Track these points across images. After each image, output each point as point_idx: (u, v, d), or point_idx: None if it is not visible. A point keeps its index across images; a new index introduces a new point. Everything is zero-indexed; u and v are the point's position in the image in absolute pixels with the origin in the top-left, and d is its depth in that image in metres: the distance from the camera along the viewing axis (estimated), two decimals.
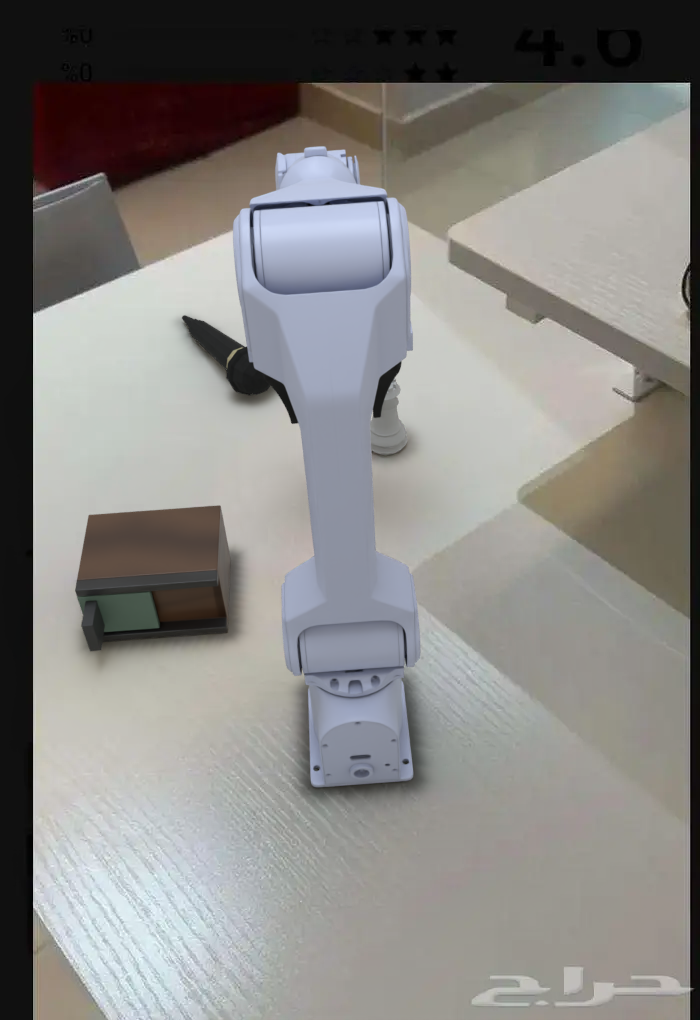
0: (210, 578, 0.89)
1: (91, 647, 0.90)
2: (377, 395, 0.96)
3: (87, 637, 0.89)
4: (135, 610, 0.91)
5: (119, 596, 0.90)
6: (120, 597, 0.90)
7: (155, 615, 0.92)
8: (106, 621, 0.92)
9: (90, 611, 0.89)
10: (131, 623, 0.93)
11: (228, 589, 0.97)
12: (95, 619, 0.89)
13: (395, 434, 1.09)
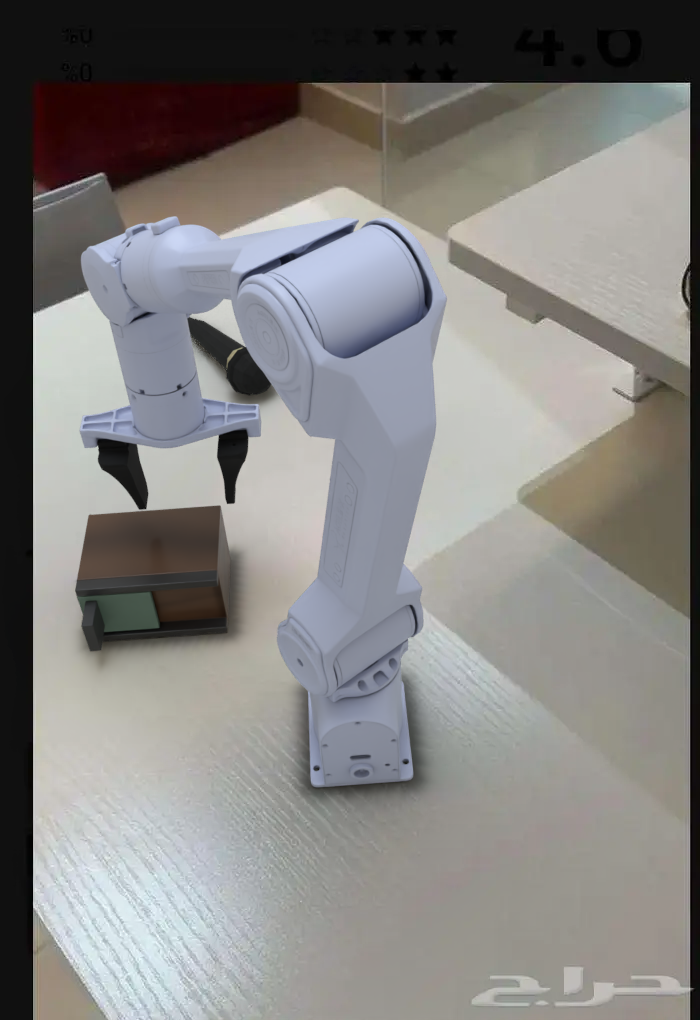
0: (210, 578, 0.89)
1: (91, 647, 0.90)
2: (226, 482, 0.89)
3: (87, 637, 0.89)
4: (135, 610, 0.91)
5: (119, 596, 0.90)
6: (120, 597, 0.90)
7: (155, 615, 0.92)
8: (106, 621, 0.92)
9: (90, 611, 0.89)
10: (131, 623, 0.93)
11: (228, 589, 0.97)
12: (95, 619, 0.89)
13: None
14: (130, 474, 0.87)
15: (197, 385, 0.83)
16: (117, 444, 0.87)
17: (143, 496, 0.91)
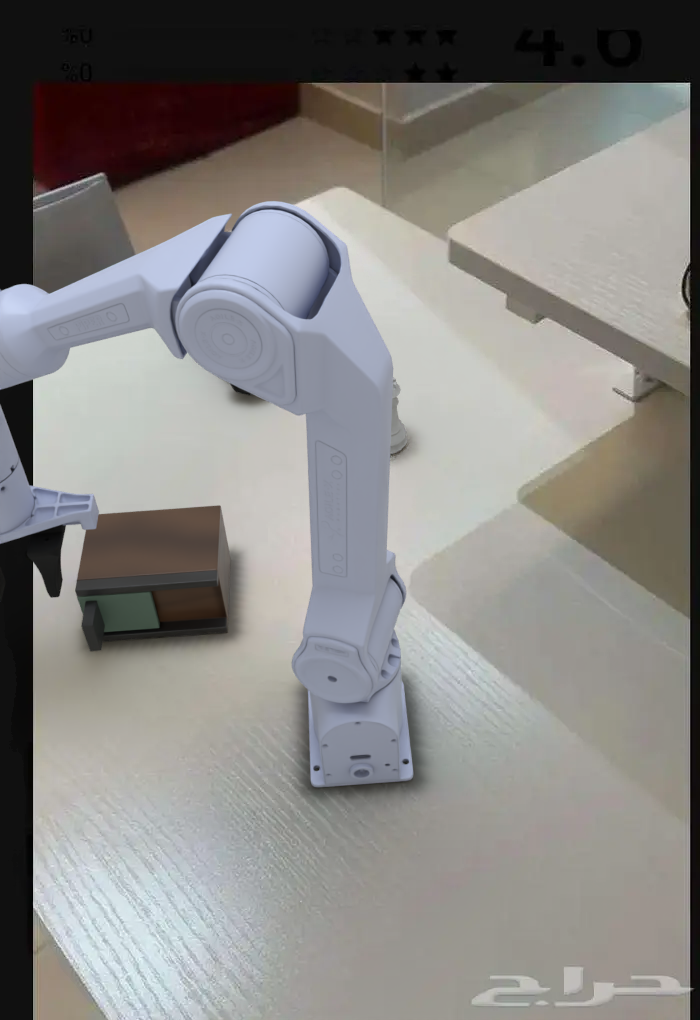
0: (210, 578, 0.89)
1: (91, 647, 0.90)
2: (45, 577, 0.83)
3: (87, 637, 0.89)
4: (135, 610, 0.91)
5: (119, 596, 0.90)
6: (120, 597, 0.90)
7: (155, 615, 0.92)
8: (106, 621, 0.92)
9: (90, 611, 0.89)
10: (131, 623, 0.93)
11: (228, 589, 0.97)
12: (95, 619, 0.89)
13: (395, 434, 1.09)
14: None
15: (20, 477, 0.77)
16: None
17: None
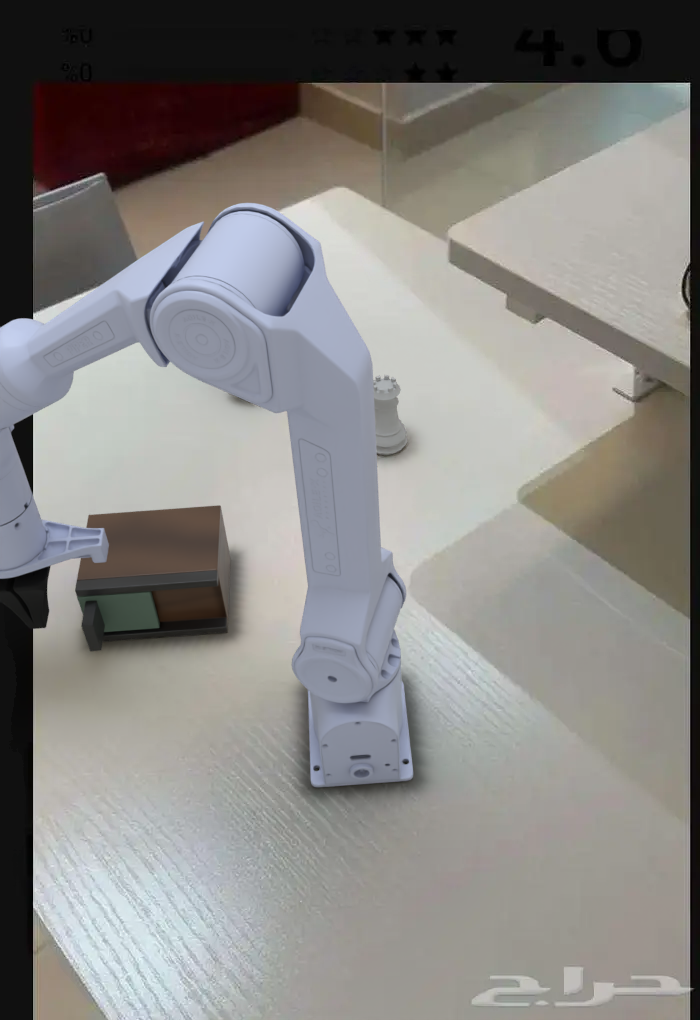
0: (210, 578, 0.89)
1: (91, 647, 0.90)
2: (32, 609, 0.85)
3: (87, 637, 0.89)
4: (135, 610, 0.91)
5: (119, 596, 0.90)
6: (120, 597, 0.90)
7: (155, 615, 0.92)
8: (106, 621, 0.92)
9: (90, 611, 0.89)
10: (131, 623, 0.93)
11: (228, 589, 0.97)
12: (95, 619, 0.89)
13: (395, 434, 1.09)
14: (15, 598, 0.83)
15: (33, 513, 0.79)
16: None
17: None
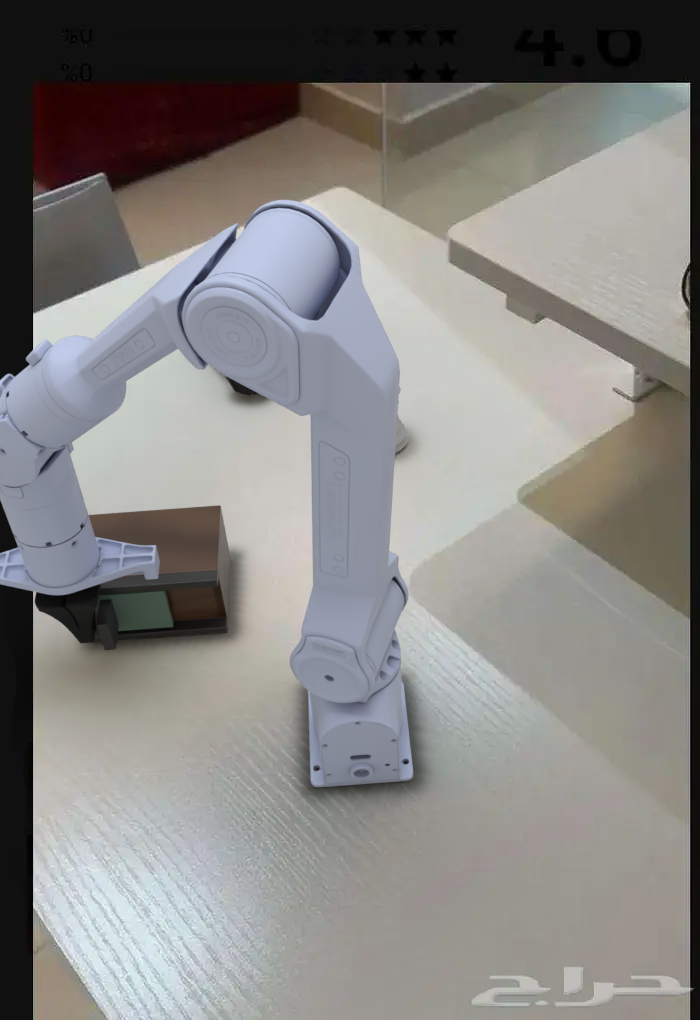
0: (210, 578, 0.89)
1: (106, 646, 0.90)
2: (81, 625, 0.87)
3: (102, 636, 0.89)
4: (149, 609, 0.91)
5: (133, 595, 0.90)
6: (134, 596, 0.90)
7: (169, 614, 0.92)
8: (120, 620, 0.92)
9: (105, 610, 0.89)
10: (145, 622, 0.93)
11: (228, 589, 0.97)
12: (110, 618, 0.89)
13: None
14: (69, 614, 0.85)
15: (88, 532, 0.81)
16: None
17: None
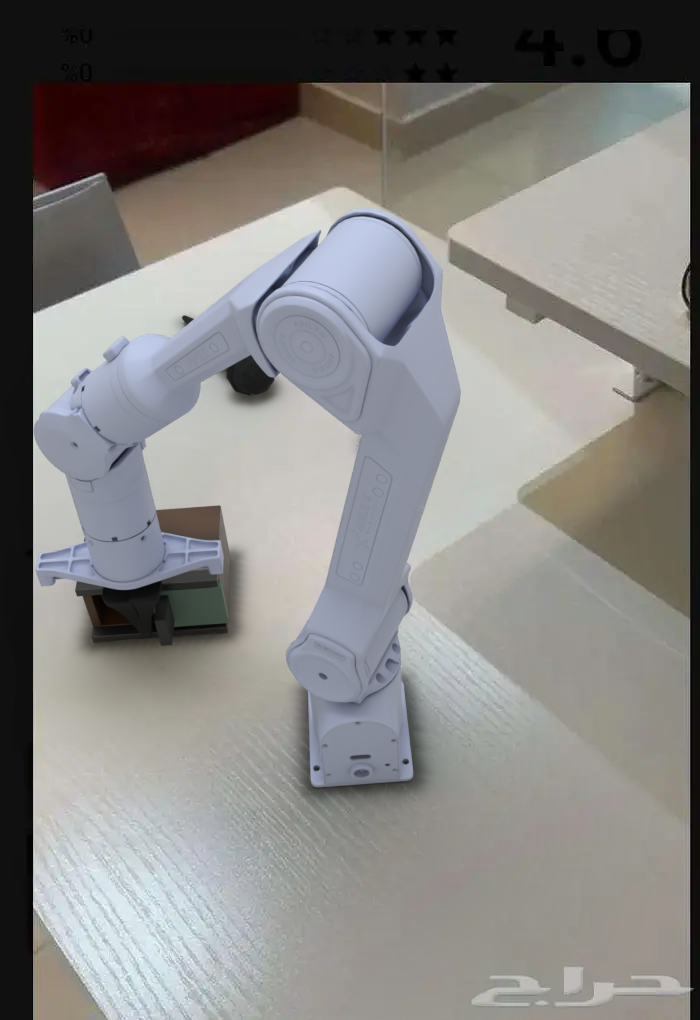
0: (210, 578, 0.89)
1: (163, 642, 0.90)
2: (141, 620, 0.87)
3: (160, 632, 0.89)
4: (206, 605, 0.91)
5: (190, 591, 0.90)
6: (191, 592, 0.90)
7: (225, 610, 0.92)
8: (176, 616, 0.92)
9: (162, 606, 0.89)
10: (201, 618, 0.93)
11: (228, 589, 0.97)
12: (167, 614, 0.89)
13: None
14: (135, 608, 0.85)
15: (156, 526, 0.81)
16: None
17: None
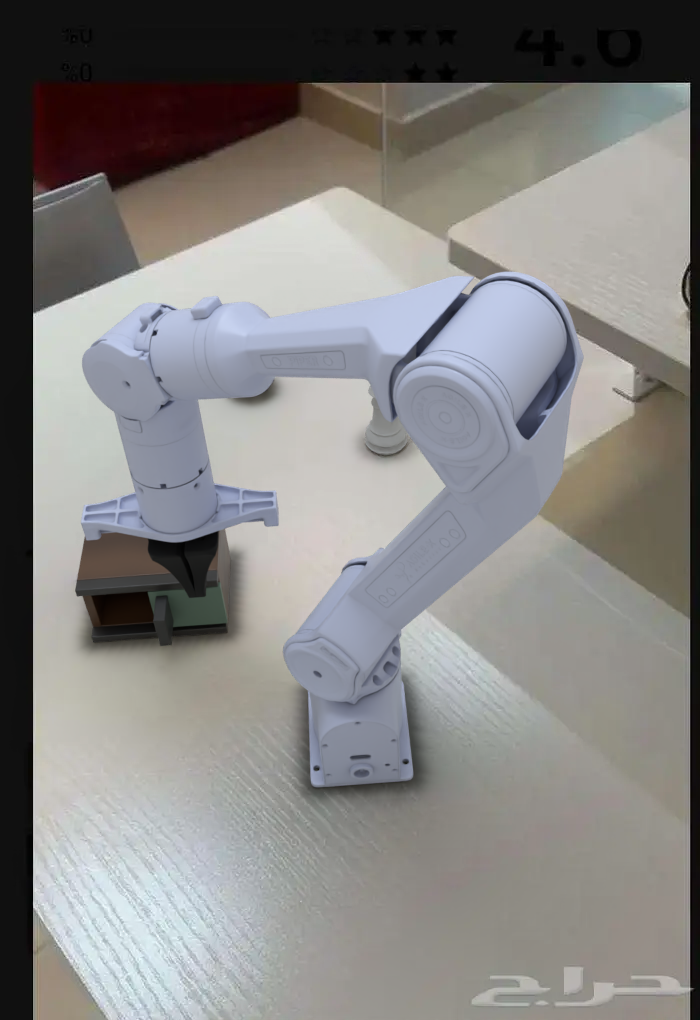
0: (210, 578, 0.89)
1: (162, 642, 0.90)
2: (196, 576, 0.82)
3: (159, 632, 0.89)
4: (204, 605, 0.91)
5: None
6: None
7: (224, 610, 0.92)
8: (175, 616, 0.92)
9: (161, 606, 0.89)
10: (200, 618, 0.93)
11: (228, 589, 0.97)
12: (166, 614, 0.89)
13: (395, 434, 1.09)
14: (182, 564, 0.80)
15: (209, 474, 0.76)
16: None
17: (194, 584, 0.84)
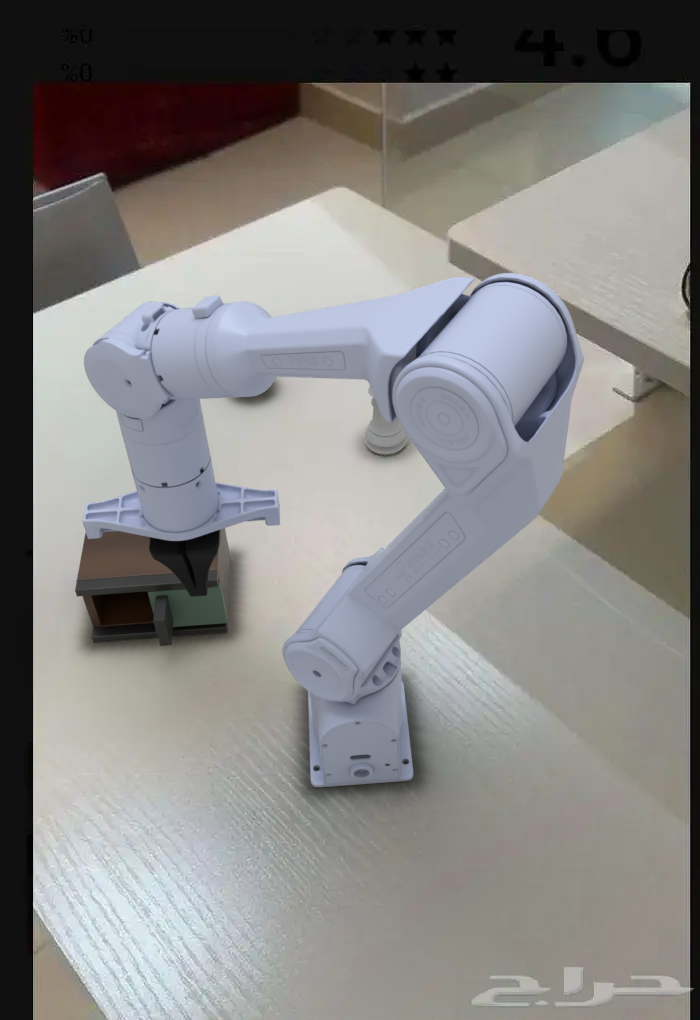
0: (210, 578, 0.89)
1: (162, 642, 0.90)
2: (197, 575, 0.82)
3: (159, 632, 0.89)
4: (204, 605, 0.91)
5: None
6: None
7: (224, 610, 0.92)
8: (175, 616, 0.92)
9: (161, 606, 0.89)
10: (200, 618, 0.93)
11: (228, 589, 0.97)
12: (166, 614, 0.89)
13: (395, 434, 1.09)
14: (184, 563, 0.80)
15: (211, 473, 0.76)
16: None
17: None
